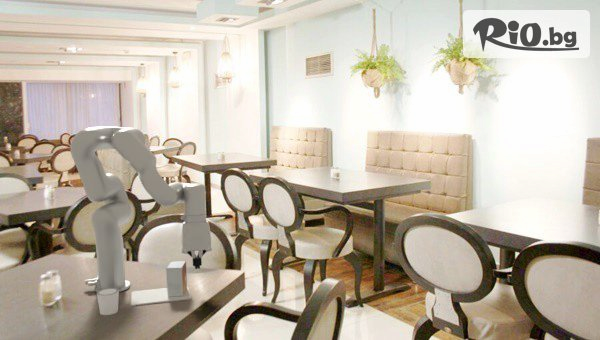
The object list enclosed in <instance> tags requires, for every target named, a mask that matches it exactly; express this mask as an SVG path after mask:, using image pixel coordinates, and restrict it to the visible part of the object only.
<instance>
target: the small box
mask: <svg viewBox="0 0 600 340" xmlns="http://www.w3.org/2000/svg"><path fill="white" fill-rule="evenodd" d="M165 269H166V270H165V271H166V288H167V293H168V296H183V295H184V293H185V291H186V290H187V285H188V279H187V261H184V260H182V261H181V260H180V261H170V263H169V264H168V265H167V267H166V268H165Z"/></svg>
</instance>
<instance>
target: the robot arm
mask: <svg viewBox="0 0 600 340" xmlns="http://www.w3.org/2000/svg"><path fill="white" fill-rule="evenodd" d="M145 143H146V137H145V135H144V133H143V132H142V131H141V130H140V129H138V128H135V127H122V126H121V127H120V126H110V125H109V126H93V127H92V126H91V127H86V128H83V129H81V130H79V131H78V132H77V133H76V134H74V136H73V138H72V140H71V142H70V155H71V157H72V159H73V162H74V165H75V167H76V169H77V173H78V174H79V179H80V180H81V184H82V187H83V189H84V192H85V195H86V196H87V198H88V200H89V201H90V202H92V203H96V204H98V203H102V202H104V204H103V205H101V206H99V207H98V208H96V209H95V210H94V212H93V213H92V216H91V224H92V230H93V233H94V238H95V251H96V264H97V277H94V278H89V279H85V280H84V281H85V282H84V283H85V286H88V287H92V286H94V287H93V289H94V292H95V293H97V292H98V291H100V290H103V289H107V288H115V289H118V290H119V293H121V292H123V291H126V290H128V289H129V288H130V287H131V282H130V281H129V280H126V268H125V267H126V265H125V252H124V251H125V250H124V249H125V247H124V238H123V234H122V232H121V229H120V227H121V226H123V225H125V224H127V223H129V221H130V220H131V217H132V215H133V208H132V205H131V202H130V199H129V197H128V194H127V191H126V189H125V186H124V185H125V184H124V183H123V182H122V180H121V178H120V177H119V176H118V175H116V174H114V173H106V172H105V171H106V170H105V169H104V166H103V164H102V162H101V161H102V160H101V159H100V158H99V157H98V156H97V154H96V152H97V151H102V150H103V151H104V150H107V149H109V150H115V151H116V152H117V153H118V154H119V155H120V156H121V158H123V159H124V160H125V162H126V163H128V165H130V167H131V168H133V170H134V171H135V172H136V173H137V176H138V178H139V180H140V182H141V183H140V184H141V185H142V186H143V188H144V190H145V191H146V193H148V195H149V196H151V198H152V199H153V200H154V201H155V202H156V203H157V204H159V205H160V206H161V207H165V208H171V207H174V206H175V205H177V204H181V203H183V206H184V207H183V208H184V214H183V215H180V220H182V221H183V222H182V229H181V246H182V247H181V253H182V254H185V255H189V256H190V257H191V258H192V266H193V267H194V269H195V270H197V269H199V270H200V268H201V267H202V266H203V265H202V264H203V263H202V257H203V256H204V255H205V254H206V253H209V252H211V251H212V250H213V248H212V235H211V233H212V232H211V227H210V222H209V221H208V220H207V208H206V207H207V204H206V202H207V201H206V186H205V185H204V184H203V183H197V182H196V183H187V182H186V183H185V182H182V181H174V182H171V183H167V181H166V180H165V179H164V178H163V177H162V176H161V175H160V173H159V172H158V169H157V156H156V155H155V154H154V153H153V152H152V151H151V150H150V149H149V148H148V147H147V146H146V145H145ZM195 251H197V253H198V254H197V255H196V252H195Z"/></svg>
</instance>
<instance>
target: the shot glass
mask: <svg viewBox="0 0 600 340" xmlns="http://www.w3.org/2000/svg"><path fill="white" fill-rule="evenodd" d="M119 293H120V292H119V290H118V289H115V288H107V289H103V290H100V291H98V292H96V297H97V302H98V304H97V305H98V308H99V309H98V310H99V314H100V315H102V316H109V315H111V316H112V315H114V314H116V313H118V311H119V297H120V296H119Z"/></svg>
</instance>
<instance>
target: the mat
mask: <svg viewBox="0 0 600 340" xmlns="http://www.w3.org/2000/svg"><path fill="white" fill-rule="evenodd" d="M130 299H131V300H130V306H131V307H136V305H137V306H145V305H152V304H159V303H160V304H163V303H169V302H177V301H186V300H188V301H189V300H192V297H191V292H190V289H189V285H188V284H187V290H186V291H185V293H184V295H183V296H168V293H167V287H162V288H161V287H160V288H152V289H142V290H134V291H131V298H130Z"/></svg>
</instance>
